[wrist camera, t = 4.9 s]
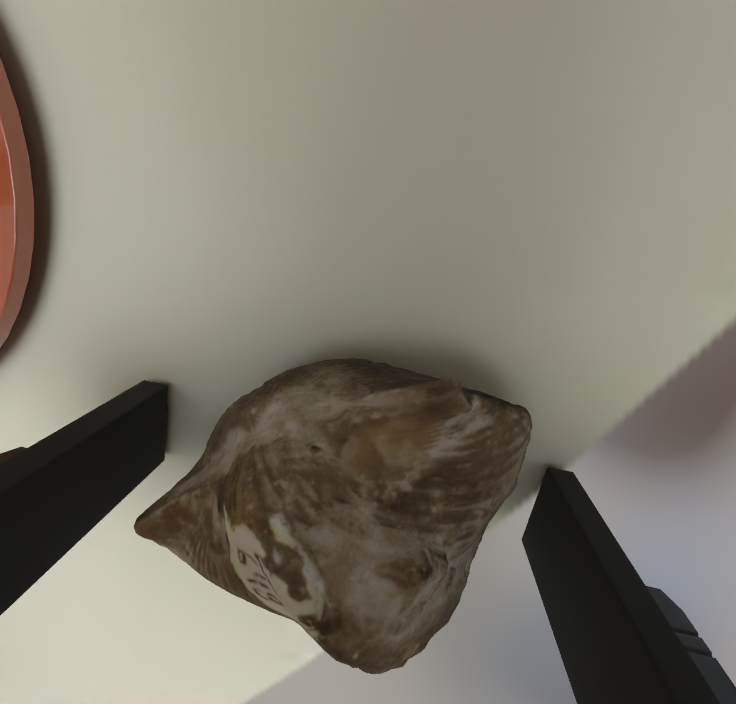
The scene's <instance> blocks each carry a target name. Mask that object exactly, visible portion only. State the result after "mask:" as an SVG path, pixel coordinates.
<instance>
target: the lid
mask: <svg viewBox="0 0 736 704" xmlns="http://www.w3.org/2000/svg"><path fill="white" fill-rule="evenodd" d="M33 245H34V195H33V186H32V177H31V169H30V160H29V154H28V150H27V145H26V141H25V137H24V132H23V128H22V123H21V119H20V115H19V110H18V107H17V104H16V101H15V98H14V96H13V93H12V90H11V87H10V84H9V81H8V78H7V75H6V72H5V69H4V66H3V63H2V61H1V58H0V348H1V346H2V345H3V343H4V342H5V340H6V339H7V337H8V335H9V333H10V331H11V329H12V327H13V324H14V322H15V320H16V318H17V315H18V313H19V311H20V309H21V305H22V302H23V298H24V295H25V291H26V287H27V284H28V280H29V276H30V269H31V261H32V253H33Z"/></svg>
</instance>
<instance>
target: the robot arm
mask: <svg viewBox="0 0 736 704" xmlns="http://www.w3.org/2000/svg"><path fill="white" fill-rule="evenodd" d="M166 409H167V385H164V384H159V383H155V382H150V381H145V380H144V381H142V382H141V383H139V384H137V385H135V386H134V387H132V388H130V389H129V390H127V391H125V392H123V393H122V394H120V395H118V396H116V397H115V398H113V399H111V400H110V401H108V402H106V403H104V404H103V405H101V406H99V407H98V408H96V409H94V410H92V411H91V412H89V413H87V414H85V415H84V416H82V417H80V418H79V419H77V420H75V421H73V422H72V423H70V424H68V425H67V426H65V427H63V428H61V429H60V430H58V431H56V432H54V433H53V434H51V435H49V436H48V437H46V438H44V439H42V440H41V441H39V442H37V443H36V444H34V445H32V446H30V447H29V448H24V447H19V448H16V449H13V450H10V451H7V452H4V453H1V454H0V615H1V614H2V613H3V612H5V611H6V610H7V609H8V608H9V607H10V606H11V605H12V604H13V603H14V602H15V601H16V600H17V599H18V598H19V597H20V596H21V595H22V594H24V593H25V592H26V591H27V590H28V589H29V588H30V587H31V586H32V585H33V584H34V583H35V582H36V581H37V580H38V579H39V578H40V577H41V576H43V575H44V574H45V573H46V572H47V571H48V570H49V569H50V568H51V567H52V566H53V565H54V564H55V563H56V562H57V561H58V560H59V559H60V558H62V557H63V556H64V555H65V554H66V553H67V552H68V551H69V550H70V549H71V548H72V547H73V546H74V545H75V544H76V543H77V542H78V541H79V540H81V539H82V538H83V537H84V536H85V535H86V534H87V533H88V532H89V531H90V530H91V529H92V528H93V527H94V526H95V525H96V524H97V523H98V522H100V521H101V520H102V519H103V518H104V517H105V516H106V515H107V514H108V513H109V512H110V511H111V510H112V509H113V508H114V507H115V506H116V505H117V504H119V503H120V502H121V501H122V500H123V499H124V498H125V497H126V496H127V495H128V494H129V493H130V492H131V491H132V490H133V489H134V488H135V487H136V486H138V485H139V484H140V483H141V482H142V481H143V480H144V479H145V478H146V477H147V476H148V475H149V474H150V473H151V472H152V471H153V470H154V469H155V468H157V467H158V466H159V465H160V464H161V463H162V462H163V461H164V460H165V435H166ZM522 542H523V545H524V548H525V551H526V554H527V557H528V560H529V563H530V565H531V569H532V571H533V575H534V577H535V580H536V583H537V586H538V589H539V592H540V595H541V598H542V601H543V604H544V607H545V610H546V613H547V616H548V619H549V622H550V625H551V628H552V631H553V634H554V637H555V639H556V642H557V645H558V648H559V651H560V654H561V657H562V660H563V663H564V666H565V669H566V672H567V675H568V678H569V681H570V683H571V687H572V690H573V693H574V696H575V698H576V701H577V704H736V687H735V686H734V684H733V683H732V681H731V680H730V678H729V677H728V676H727V674H726V673H725V671H724V670H723V668H722V667H721V665H720V664H719V663H718V661H717V660H716V658H713V657H712V652H711V651H710V650H709V648H708V647H707V645H706V644H705V643H704V641H703V639H702V638H699V637H698V632H697V631H696V629H695V628H694V626H693V625H692V624H691V622H690V621H689V619H688V618H687V616H686V615H685V613H684V612H683V611H682V610H681V609H680V608H679V607H678V606H677V605H676V604H675V603H674V602H673V601H672V600H671V599H670V598H669V597H668V596H667V595H666V594H665V593H664V592H662V591H661V590H660V589H657V588H653V587H648V586H645V584H644V583H643V581H642V580H641V578H640V577H639V575H638V573H637V572H636V570H635V569H634V567H633V565H632V564H631V562H630V561H629V559H628V558H627V556H626V555H625V553H624V551H623V550H622V548H621V547H620V545H619V544H618V542H617V541H616V539H615V537H614V536H613V534H612V533H611V531H610V529H609V528H608V526H607V525H606V523H605V522H604V520H603V519H602V517H601V515H600V514H599V512H598V511H597V509H596V507H595V506H594V504H593V503H592V501H591V500H590V498H589V497H588V495H587V493H586V492H585V490H584V489H583V487H582V486H581V484H580V482H579V481H578V479H577V478H576V476H575V475H574V473H573V472H569V471H565V470H560V469H556V468H551V467H548V468H547V471H546V473H545V476H544V479H543V482H542V484H541V487H540V490H539V493H538V496H537V498H536V501H535V504H534V507H533V509H532V512H531V515H530V518H529V521H528V524H527V526H526V529H525V532H524V535H523V537H522Z"/></svg>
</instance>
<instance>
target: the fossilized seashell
mask: <svg viewBox="0 0 736 704" xmlns="http://www.w3.org/2000/svg"><path fill="white" fill-rule="evenodd" d="M531 429H532V422H531V416H530V414H529V412H528V411H527V410H526V408H524V407H522V406H520V405H515V404H511V403H509V402H507V401H504V400H502V399H499V398H496V397H494V396H491V395H488V394H485V393H483V392H480V391H475V390H469V389H465V388H461V386H460V383H459V382H458V381H456V380H453V379H443V380H440V379H438V378H433V377H429V376H425V375H421V374H417V373H414V372H412V371H409V370H405V369H400V368H395V367H393V366H390V365H388V364H386V363H375V362H372V361H369V360H364V359H354V358H351V359H336V360H326V361H322V362H317V363H313V364H309V365H304V366H300V367H297V368H294V369H291V370H287V371H285V372H283V373H281V374H279V375H277V376H276V377H274V378H272V379H271V380H269V381H267V382H265V383H264V385H263V386H262V387H260V388H258V389H255V390H254V391H252V392H251V393H249V394H247V395H244V396H242V397H241V398H240V399H239V400H237V401H236V402H235V403H234V404H232V405H231V406H230V407H229V408H228V409H227V410H226V412H225V413H224V414H223V416H222V417H221V418H220V420H219V421H218V423H217V425H216V426H215V429H214V431H213V432H212V434H211V436H210V439H209V441H208V443H207V447H206V450H205V452H204V454H203V455H202V457H201V458H200V460H199V461H198V462H197V463H196V465H195V466H194V467H193V468H192V470H191V471H190V472H189V473H188V474H187V475H186V476H185V477H184V478H182V479H181V480H180V481H179V482H178V483H177V484H176V485H175V486H174V487H173V488H172V489H171V490H170V491H169V492H167V493H166V494H165V495H163V496H162V497H161V498H160V499H159V500H157V501H156V502H155V503H154V504H152V505H151V506H150V507H149V508H148V509H147V510H145V511H144V512H143V513H142V514H141V515H140V516H139V517H138V518H137V520H136V522H135V525H134V529H135V532H136V533H137V534H138V535H140V536H142V537H143V538H146V539H150V540H153V541H154V542H156V543H157V544H159V545H161V546H164V547H167V548H168V549H169V550H170V551H172V552H173V553H174V554H175V555H177V556H178V557H179V558H180V559H182V560H183V561H184V562H186V563H187V564H188V565H190V566H191V567H192V568H193V569H194V570H195V571H197V572H198V573H199V574H200V575H202V576H203V577H204V578H206V579H207V580H209V581H211V582H212V583H214V584H215V585H217V586H219V587H221V588H222V589H224V590H226V591H228V592H229V593H231V594H233V595H235V596H237V597H240V598H242V599H244V600H246V601H248V602H250V603H252V604H254V605H257V606H259V607H261V608H264V609H266V610H268V611H270V612H272V613H275V614H278V615H280V616H283V617H286V618H289V619H291V620H293V621H295V622H296V623H298V624H299V625H301V626H302V627H303V629H304V630H305V631H306V632H307V633H308V634H309V635H310V636H311V637H312V638H313V639H314V640H315V641H316V642H317V643H318V644H319V645H320V646H321V647H322V648H323V649H324V650H325V651H326V652H327V653H328V654H329V655H330V656H332V657H333V658H334V659H335V660H336V661H339V662H341V663H344V664H347V665H349V666H351V667H352V668H359V669H361V670H362V671H364V672H366V673H370V674H381V673H384V672H387V671H389V670H390V669H394V668H399V667H402V666H404V664H405V663H406V662H407V660H408V659H410V658H411V657H413V656H415V655H416V654H418V653H420V652H421V651H422V650H423V649H424V648H425V647H426V645H427V643H428V642H429V640H430V639H431V638H432V637H433V635H434V634H435V633H436V632H438V631H439V630H440V629H441V628H442V627H443V626H445V625H446V624H447V623H448V622H449V620H450V617H451V616H452V614H453V612H454V610H455V609H456V607H457V605H458V603H459V601H460V598H461V594H462V592H463V590H464V588H465V586H466V583H467V578H468V575H469V569H470V564H471V562H472V560H473V558H474V557H475V554H476V551H477V549H478V545H479V543H480V542H481V540H482V536H483V534H484V531H485V529H486V527H487V525H488V523H489V521H490V520H491V519H492V517H493V516H494V515H495V513H496V512H497V510H498V509H499V508H500V506H501V505H502V503H503V502H504V500H505V499H506V498H507V497H508V496H509V495H510V494H511V493H512V491H513V490H514V488H515V487H516V485H517V480H518V475H519V472H520V469H521V466H522V463H523V460H524V457H525V453H526V449H527V446H528V443H529V441H530V433H531Z"/></svg>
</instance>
